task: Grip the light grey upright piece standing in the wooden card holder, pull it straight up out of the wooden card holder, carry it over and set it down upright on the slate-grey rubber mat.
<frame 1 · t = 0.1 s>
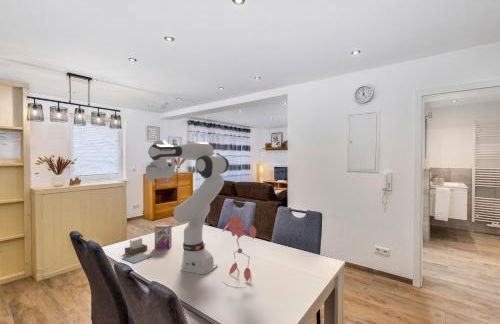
hand: (160, 184, 161), 48 cm above the table, fingers open, 8 cm apart
light grey upright piece: (136, 245, 167), in the wooden card holder
wooden card holder: (136, 251, 167), on the table
red stick figure: (236, 279, 127), on the table
mat: (136, 257, 156), on the table
candy bar box: (163, 247, 174), on the table
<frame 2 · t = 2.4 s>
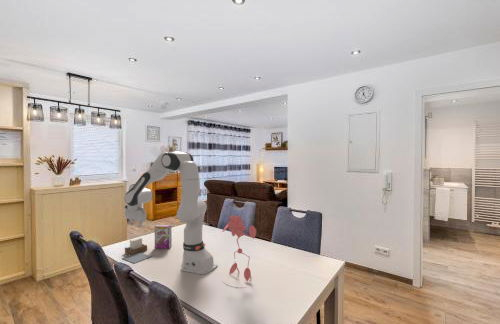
hand: (135, 226, 166), 18 cm above the table, fingers open, 8 cm apart
nothing on the table moved.
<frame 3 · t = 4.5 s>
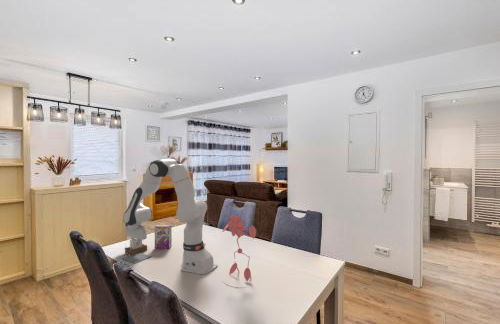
hand: (136, 243, 167), 6 cm above the table, fingers closed on light grey upright piece, 3 cm apart
light grey upright piece: (136, 245, 167), in the wooden card holder, touching gripper
everything else where it was.
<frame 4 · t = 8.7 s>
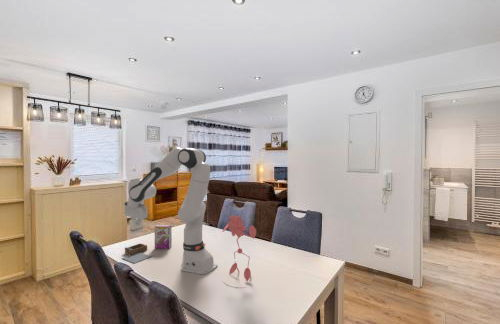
hand: (136, 224, 156), 23 cm above the table, fingers closed on light grey upright piece, 3 cm apart
light grey upright piece: (136, 225, 156), point 21 cm above the table, touching gripper
everything else where it was.
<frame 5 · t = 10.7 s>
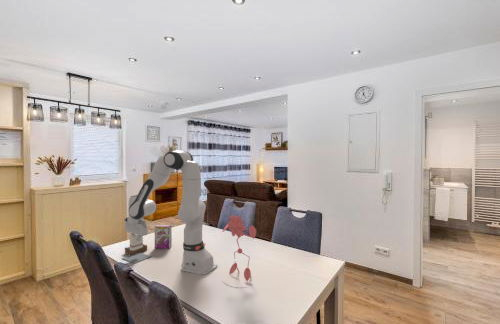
hand: (136, 240, 156), 12 cm above the table, fingers closed on light grey upright piece, 3 cm apart
light grey upright piece: (136, 241, 156), point 11 cm above the table, touching gripper
everything else where it was.
when the fingers open (7 cm above the table, at t = 12.7 s): light grey upright piece stays where it is, resting on mat.
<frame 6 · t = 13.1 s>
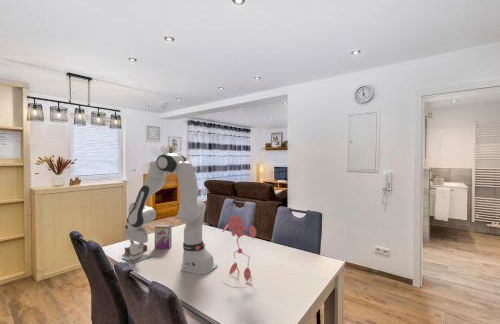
hand: (136, 247, 156), 7 cm above the table, fingers open, 7 cm apart
light grey upright piece: (136, 250, 156), on the mat
everything else where it was.
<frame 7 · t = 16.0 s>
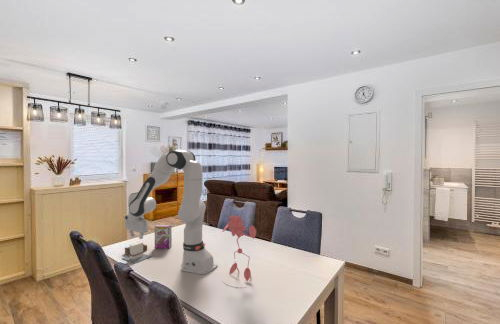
hand: (136, 237, 156), 14 cm above the table, fingers open, 8 cm apart
nothing on the table moved.
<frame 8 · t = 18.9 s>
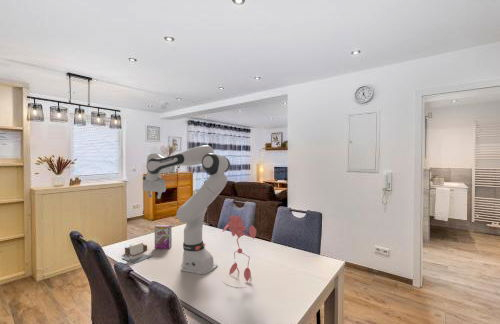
hand: (154, 197, 160), 39 cm above the table, fingers open, 8 cm apart
nothing on the table moved.
at the end: light grey upright piece inside the target area on the mat (0.1 cm from its centre), point 4.9 cm above the mat's base; light grey upright piece tilted 0°; the gripper is holding nothing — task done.
